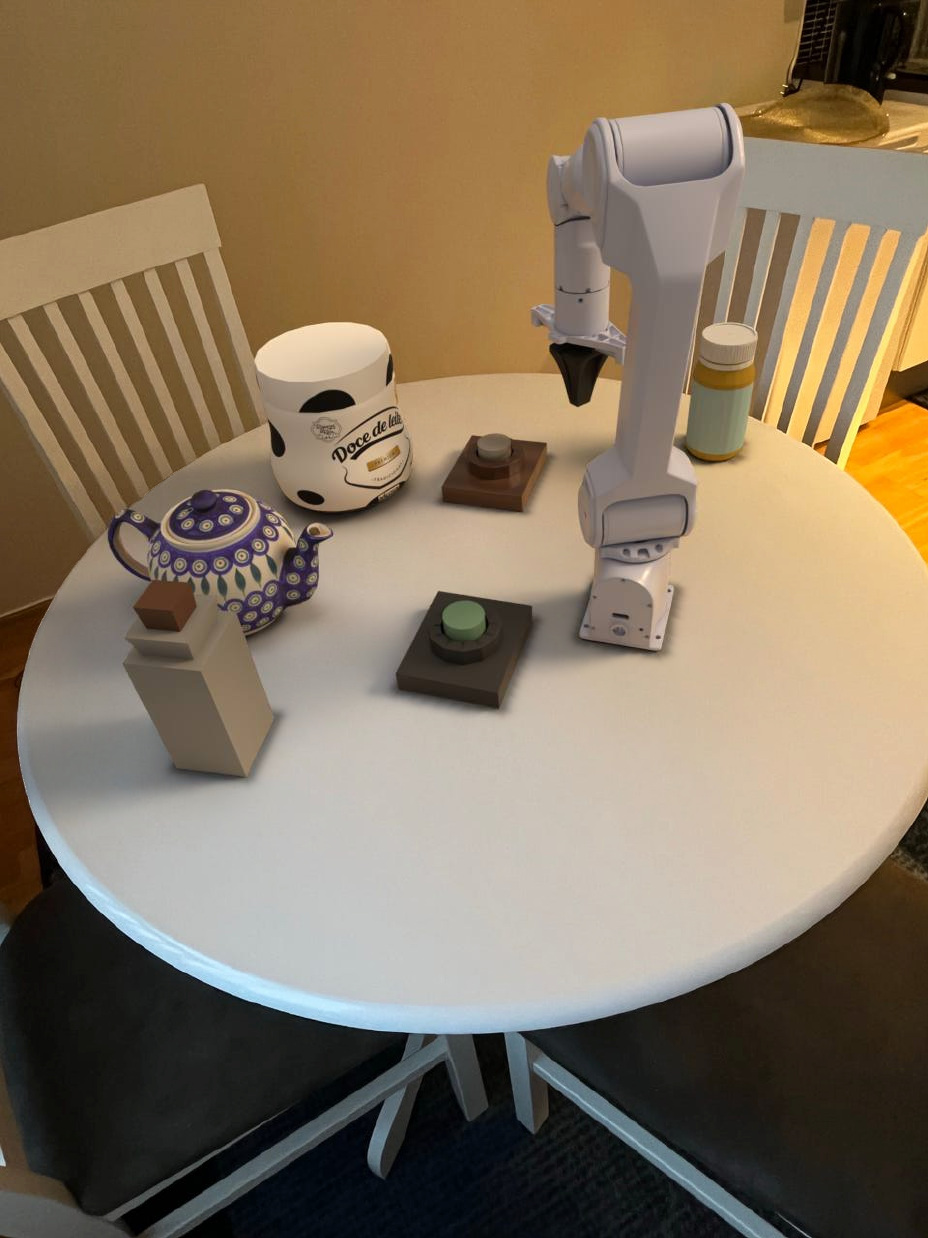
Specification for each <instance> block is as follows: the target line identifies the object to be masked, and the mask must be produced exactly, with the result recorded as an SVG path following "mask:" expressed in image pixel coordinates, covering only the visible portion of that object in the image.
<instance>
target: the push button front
mask: <svg viewBox="0 0 928 1238" xmlns="http://www.w3.org/2000/svg"><path fill="white" fill-rule="evenodd" d="M458 601H472V602H475V603H477V604H479V605H480V606H481V607H482V608H483V609H484V612H485V623H486V629H485V632H484V633H483V635H482V636H480V637H479V638H477V639H476V640H472V641H467V642H459V641H453V640H451V639H449V638H448V637H447V636H446V634H445V632H444V627H443V619H442V615H443V612H444V610H445V609H446V608H447V607H448V606H449V605H450V604H452V603H455V602H458ZM533 621H534V620H533V605H531V604H526V603H525V604H524V603H517V602H511V601H505V600H498V599H493V598H488V597H487V598H486V597H480V596H475V595H473V596H472V595H467V594H460V593H455V592H447V591H442V590H438V591H437V592H436V594H435V597H434V598H433V600H432V602H431V604H430V605H429V608H428V610H427V612H426V613H425V616H424V617H423V619H422V621H421V623H420V625H419V627H418V629H417V630H416V633H415V635H414V637H413V638H412V641H411V643H410V644H409V646H408V648H407V650H406V652H405V654H404V656H403V658H402V660H401V662H400V663H399V666H398V668H397V669H396V672H395V678H396V682H397V688H398V690H402V691H408V692H413V693H417V694H423V695H427V696H431V697H432V696H433V697H439V698H444V699H449V700H453V701H459V702H464V703H469V704H473V705H479V706H484V707H490V708H494V709H500V708H501V706H502V703H503V699H504V697H505V695H506V692H507V689H508V686H509V684H510V682H511V679H512V677H513V674H514V671H515V668H516V666H517V663H518V661H519V659H520V655H521V653H522V650H523V648H524V645H525V642H526V640H527V638H528V635H529V633H530V629H531V627H532V625H533Z"/></svg>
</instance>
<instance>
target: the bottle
mask: <svg viewBox="0 0 928 1238" xmlns="http://www.w3.org/2000/svg"><path fill="white" fill-rule="evenodd" d="M700 335H701V336H700V345H699V354H698V361H697V363H696V364H695V365H694V369H693V373H692V379H691V390H690V399H689V406H688V414H687V415H688V416H687V422H686V423H687V425H686V434H685V446H686V447H685V448H687V450H688V451H689V452H690V453H691V454H692V455H693V456H694V457H696V458H698V459H701V460H704V461H709V462H723V461H726V460H731V459H733V458H734V457H735V456H737V455H738V454H740V453H741V452H742V450H743V448H744V443H745V439H746V434H747V433H746V431H747V427H748V421H749V416H750V415H749V414H750V409H751V403H752V396H753V391H754V384H755V380H756V368H755V363H754V361H755V354H756V350H757V345H758V339H759V335H758V332H757V330H756V329H755V328H754V327H752V326H750V325H748V324H744V323H741V322H731V321H730V322H727V321H726V322H717V323H714V324H710V325H708V326H707V327H705V328H704V329H702V332H701V334H700Z"/></svg>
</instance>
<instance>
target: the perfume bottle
mask: <svg viewBox="0 0 928 1238" xmlns="http://www.w3.org/2000/svg"><path fill="white" fill-rule="evenodd" d="M132 609H133V610H134V612H135V613H136V615H137V616H138V617H137V618H136V620H134V622H133V624H132V625H131V626H130V628H129V629H128V630H127V632H126V634H125V635H124V636H123V638H124V639H125V640H126V641H127V642H128V643H129V644H130V645H131V646H132V648H131V649H130V651H129V652H128V654H127V655H126V657H125V658H124V660H122V663H121V664H122V666H123V668H124V670H125V672H126V674H127V675H128V678H129V679H130V681H131V683H132V685H133V688H134V689H135V691H136V693H137V695H138V696H139V699H140V700H141V702H142V704H143V706H144V708H145V710H146V713H147V714H148V716H149V718H150V720H151V722H152V723H153V725H154V727H155V729H156V731H157V733H158V735H159V737H160V739H161V741H162V743H163V744H164V747H165V748H166V751H167V752H168V755H169V756H170V759H171V760H172V762H173V764H174V766H175V768H176V769H181V770H188V771H198V772H204V773H211V774H219V775H220V774H221V775H226V776H227V775H228V776H233V777H242V778H243V777H244V778H247V776H248V775H249V773H250V771H251V770H252V769H251V768H252V766H253V764H254V763H255V761H256V758H257V756H258V754H259V752H260V750H261V747H262V746H263V743H264V742H265V739H266V737H267V735H268V733H269V730H270V728H271V727H272V725H273V722H274V721H275V715H274V713H273V711H272V708H271V705H270V702H269V698H268V697H267V694H266V690H265V688H264V685H263V683H262V680H261V677H260V674H259V672H258V669H257V666H256V663H255V661H254V658H253V655H252V652H251V650H250V647H249V645H248V642H247V641H248V640H247V639H246V636H244V633H243V630H242V628H241V625H240V622H239V619H238V617H237V614H236V612H232V611H220V610H217V596H209V595H197V594H193V590H192V586H191V583H189V582H176V581H163V580H152V582H150V583H149V584H148V585H147V587H146V589H145V590H144V591H143V593H142V594H141V595H140V596H139V598H138V599H137V601H136V602H135V603H134V605H133V606H132Z"/></svg>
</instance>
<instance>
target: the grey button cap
mask: <svg viewBox="0 0 928 1238" xmlns="http://www.w3.org/2000/svg"><path fill="white" fill-rule="evenodd" d="M482 436H483V437H481V438H480V439H479V440H478V456H479V458H480V459H481V460H483V461H489V462H497V461H503V460H505V459H507V458H509V457H510V456H511V440H510V438H511V437H509V435H506V434H503V433H498V432H497V433H495V432H493V433H488V434H485V435H482Z"/></svg>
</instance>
